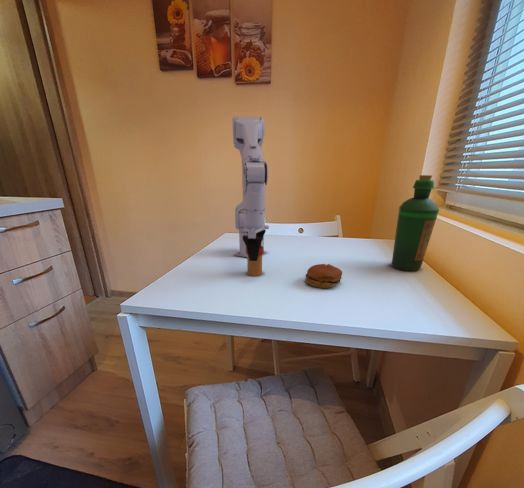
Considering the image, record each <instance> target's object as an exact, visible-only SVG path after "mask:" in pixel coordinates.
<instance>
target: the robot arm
mask: <svg viewBox="0 0 524 488" xmlns="http://www.w3.org/2000/svg"><path fill="white" fill-rule="evenodd" d="M265 127H266V126H265V119H264V117H263V116H236V115H233V117H232V140H233V141H232V142H233V147H234V149H236V150H238V151H239V155H240V159H241V184H242V186H241V191H242V201H241V202H239V203H238V204H237V205H236V206H235V208H234V212H235V213H234V225H235V229H236V230H237V231H238V237H239V241H238V243H239V251H238V252H236V253H234V256H237V257H241V258H242V257H243V258H247V254H246V247H247V251H248V256H249V260H250V261H257V259H258V254H259V248H260V246H263V247H264V248H265V234H266V231H267V230H269V229H270V225H267V224H266V186H267V185H268V180H269V169H268V167H269V166H268V163H267V161H266V160H264V159H265V158H264V152H263V148H262V145H263V143H264V137H265ZM266 252H267V251H266V250H264V254H266Z"/></svg>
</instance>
